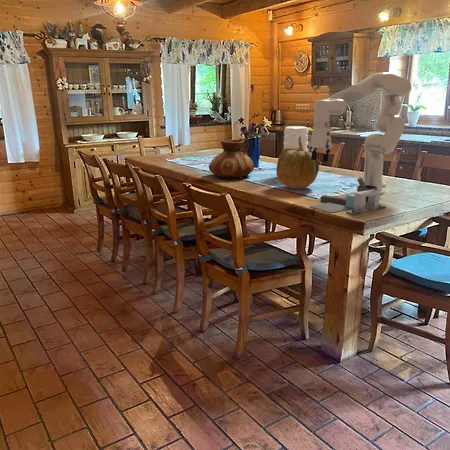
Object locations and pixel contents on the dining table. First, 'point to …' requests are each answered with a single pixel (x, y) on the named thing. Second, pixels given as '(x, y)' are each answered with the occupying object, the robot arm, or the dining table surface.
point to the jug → (232, 160)
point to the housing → (361, 199)
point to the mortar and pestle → (364, 187)
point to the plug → (350, 200)
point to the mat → (331, 207)
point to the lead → (333, 199)
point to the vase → (295, 136)
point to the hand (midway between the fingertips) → (319, 160)
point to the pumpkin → (296, 167)
